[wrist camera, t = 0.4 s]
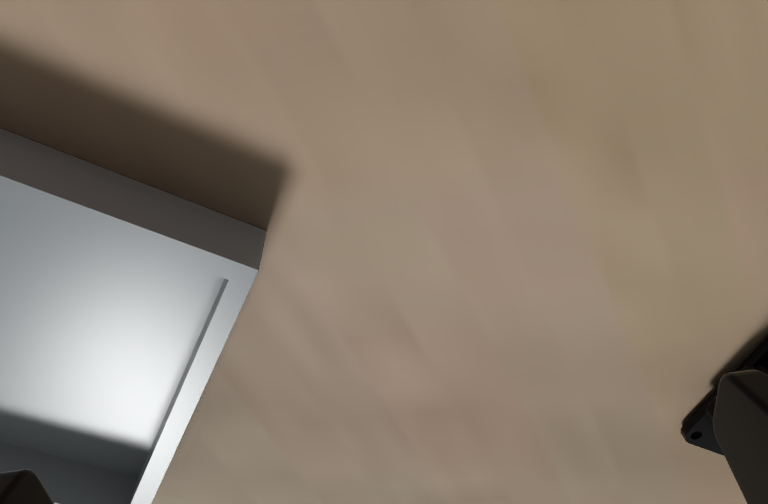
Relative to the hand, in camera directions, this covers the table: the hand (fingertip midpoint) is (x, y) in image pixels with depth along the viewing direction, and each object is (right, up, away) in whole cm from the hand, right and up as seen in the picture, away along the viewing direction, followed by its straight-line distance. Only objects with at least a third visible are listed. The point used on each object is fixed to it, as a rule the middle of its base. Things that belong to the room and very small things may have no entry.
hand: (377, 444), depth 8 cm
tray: (-13, 0, +14) cm, 19 cm away
